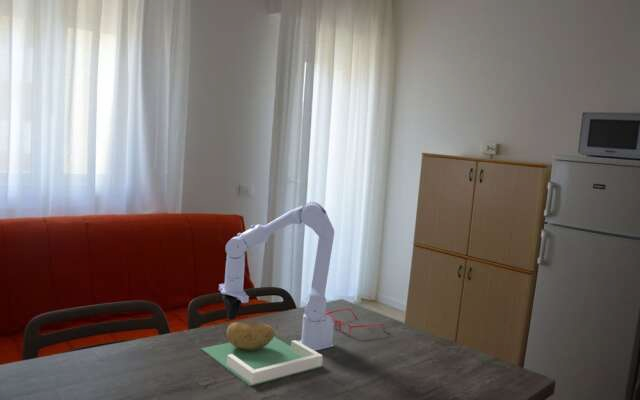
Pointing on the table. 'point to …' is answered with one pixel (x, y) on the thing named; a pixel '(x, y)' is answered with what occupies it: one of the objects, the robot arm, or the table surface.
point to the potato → (249, 335)
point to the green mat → (255, 356)
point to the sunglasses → (348, 323)
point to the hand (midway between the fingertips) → (231, 319)
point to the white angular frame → (277, 365)
